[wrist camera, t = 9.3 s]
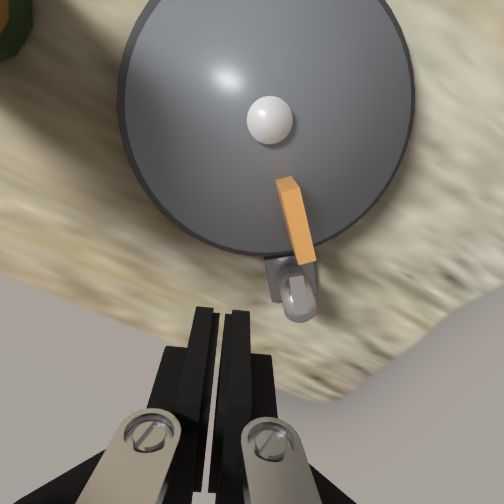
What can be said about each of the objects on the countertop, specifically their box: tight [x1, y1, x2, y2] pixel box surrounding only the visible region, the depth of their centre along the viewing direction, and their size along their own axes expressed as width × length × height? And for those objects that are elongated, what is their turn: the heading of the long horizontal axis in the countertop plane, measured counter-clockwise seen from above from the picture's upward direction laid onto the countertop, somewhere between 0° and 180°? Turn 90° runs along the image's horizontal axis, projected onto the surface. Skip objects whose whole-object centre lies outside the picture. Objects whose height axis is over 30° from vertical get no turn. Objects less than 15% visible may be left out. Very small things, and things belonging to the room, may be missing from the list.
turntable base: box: [117, 0, 415, 256], centre depth 28 cm, size 21×21×2 cm
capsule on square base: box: [264, 253, 318, 323], centre depth 31 cm, size 5×4×6 cm
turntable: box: [125, 0, 411, 265], centre depth 25 cm, size 19×19×6 cm
